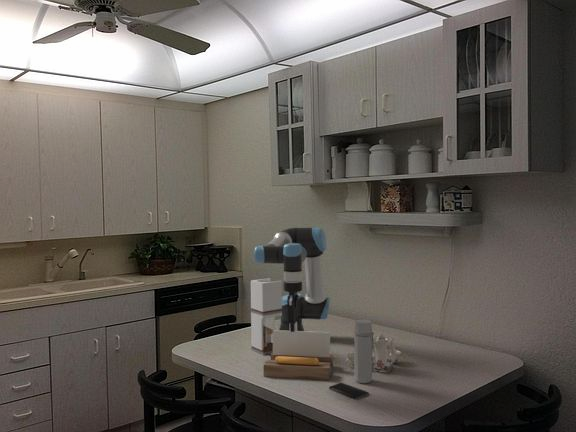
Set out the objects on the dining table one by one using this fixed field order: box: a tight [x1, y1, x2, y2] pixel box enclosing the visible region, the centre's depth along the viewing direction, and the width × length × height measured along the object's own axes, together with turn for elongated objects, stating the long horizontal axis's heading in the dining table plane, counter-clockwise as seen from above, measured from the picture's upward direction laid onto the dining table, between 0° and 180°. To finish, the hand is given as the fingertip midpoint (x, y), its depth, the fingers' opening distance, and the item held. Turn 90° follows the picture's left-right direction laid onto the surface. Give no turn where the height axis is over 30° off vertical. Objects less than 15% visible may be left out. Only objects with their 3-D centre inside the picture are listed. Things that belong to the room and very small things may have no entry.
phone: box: [328, 382, 370, 400], centre depth 202 cm, size 8×1×15 cm
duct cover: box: [272, 329, 331, 357], centre depth 231 cm, size 11×26×1 cm
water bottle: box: [353, 319, 376, 384], centre depth 213 cm, size 9×8×25 cm
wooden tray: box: [263, 352, 334, 381], centre depth 226 cm, size 18×28×5 cm, turn 79°
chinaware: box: [345, 332, 406, 373], centre depth 230 cm, size 28×17×17 cm, turn 111°
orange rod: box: [275, 356, 319, 365], centre depth 220 cm, size 3×19×3 cm, turn 79°
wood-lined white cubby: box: [250, 278, 283, 356], centre depth 256 cm, size 11×11×35 cm
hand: (293, 338), depth 211 cm, fingers closed
